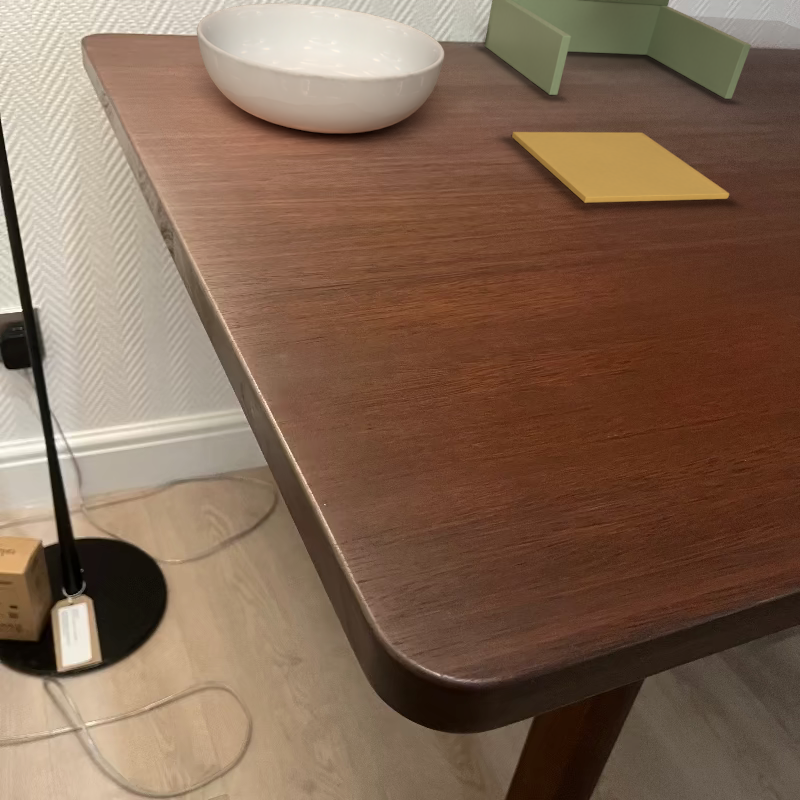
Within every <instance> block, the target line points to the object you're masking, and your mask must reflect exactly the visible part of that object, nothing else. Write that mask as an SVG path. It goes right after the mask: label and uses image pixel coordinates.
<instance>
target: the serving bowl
mask: <svg viewBox="0 0 800 800" xmlns="http://www.w3.org/2000/svg"><path fill="white" fill-rule="evenodd" d="M196 37H197V43H198V48H199V51H200V56H201V60H202V62H203V65H204V67H205V70H206V72H207V74H208V76H209V78H210V79H211V81H212V82H213V84H214V85H215V86H216V87H217V89H218V90H219V91H220V92H221V93H222V94H223V96H224V97H226V98H227V99H228V100H229V101H230V103H233V104H234V105H235V106H237V108H240V109H241V110H242V111H245V112H246V113H248V114H250V115H253V116H254V117H256V118H259V119H261V120H264V121H266V122H268V123H271V124H275V125H279V126H283V127H286V128H291V129H293V130H294V129H295V130H301V131H305V132H309V133H315V134H356V133H357V134H359V133H365V132H366V133H367V132H371V131H377V130H381V129H384V128H387V127H391V126H394V125H395V124H398V123H400V122H402V121H404V120H405V119H407V118H409V117H411V116H412V115H413V114H414V113H416V112H417V111H418V110H419V109H420V108H421V107H422V106H423V105H424V104H425V102H426V101H427V100H428V99H429V98H430V96H431V94H433V91H434V89H435V87H436V85H437V83H438V81H439V77H440V75H441V72H442V69H443V68H442V67H443V64H444V60H445V50H444V48H443V46H442V45H441V43H440V42H439V41H438V40H436V39H435V38H434V37H432V36H431V35H430V34H428V33H426V32H424V31H423V30H420V29H418V28H416V27H414V26H411V25H409V24H406V23H403V22H401V21H397V20H395V19H392V18H387V17H385V16H381V15H380V16H379V15H376V14H371V13H367V12H364V11H358V10H353V9H347V8H340V7H333V6H326V5H317V4H307V3H306V4H305V3H285V2H284V3H283V2H282V3H281V2H280V3H279V2H277V3H275V2H274V3H272V2H271V3H267V2H266V3H253V4H243V5H235V6H231V7H227V8H221V9H219V10H216V11H214V12H211V13H209V14H207V15H205V16H204V17H203V18H202V19H201V20H199V22H198V23H197V26H196Z"/></svg>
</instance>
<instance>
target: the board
mask: <svg viewBox="0 0 800 800" xmlns="http://www.w3.org/2000/svg"><path fill="white" fill-rule="evenodd" d="M511 138H512V139H514V140H515V141H516V142H517V143H518V144H519V145H520V146H521V147H522V148H524V149H525V151H527V152H528V153H529V154H530V155H531V156H533V157H534V158H535V159H536V160H537V161H538V162H539V163H540V164H541V165H542V166H543V167H544V168H546V170H548V171H549V172H550V173H551V174H552V175H553V176H554V177H555V178H557V179H558V180H559V181H560V182H561V184H563V185H564V186H565V187H566V188H567V189H568V190H570V191H571V192H572V193H573V194H574V195H575V196H577V198H579V199H580V200H581V201H582V202H583V203H584V204H587V203H588V204H589V203H627V202H629V203H631V202H662V201H664V202H665V201H698V200H727V199H728V198H729V196H730V193H729V191H727V190H725V189H724V188H722V187H721V186H719V184H716V183H715V182H713V181H712V180H711V179H709V178H708V177H706V176H705V175H704V174H702V173H701V172H699V171H698V170H696V169H695V168H694V167H692V166H690V165H689V164H688V163H686V161H684V160H682V159H681V158H680V157H677V155H675V154H674V153H672V152H670V150H668V149H666V148H665V147H664V146H662V145H661V144H659V143H658V142H656V141H655V140H653V139H652V138H650V136H648V135H646V134H645V133H643V132H623V131H622V132H616V131H615V132H611V131H609V132H607V131H603V132H601V131H599V132H595V131H591V132H587V131H586V132H584V131H513V132H512V137H511Z"/></svg>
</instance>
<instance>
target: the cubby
mask: <svg viewBox="0 0 800 800" xmlns="http://www.w3.org/2000/svg"><path fill="white" fill-rule="evenodd" d="M669 3H670V0H491V5H490V10H489V16H488V22H487V23H488V24H487V27H486V28H487V29H486V32H485V33H486V34H485V38H484V43H483V44H484V47H485V48H486V49H488V50H489V51H490V52H492V53H493V54H494V55H496V56H497V57H498V58H500V60H502V61H504V62H505V63H506V64H508V66H510V67H512V68H513V69H514V70H516V71H517V72H518V73H520V75H522V76H524V77H525V78H527V80H529V81H530V82H532V84H534V85H536V86H537V87H538V88H539V89H541V90H543V92H544V93H546V94H547V95H548V96H558V94H559V89H560V85H561V82H562V76H563V73H564V68H565V65H566V61H567V56H568V52H570V53H591V54H592V53H593V54H594V53H597V54H617V55H619V54H621V55H640V56H641V55H643V56H648V57H650V58H652V59H654V60H655V61H656V62H659V63H660V64H662V65H664V66H666V67H667V68H670V69H671V70H673V71H675V72H676V73H678V74H680V75H682V76H684V77H685V78H687V79H689V80H691V81H692V82H694V83H696V84H698V85H700V87H701V86H702V87H703V88H705V89H706V90H708V91H711V92H712V93H715V94H716V95H717V96H719V97H721V98H723V99H725V100H732V98H733V96H734V93H735V90H736V88H737V85H738V82H739V79H740V77H741V75H742V71H743V69H744V65H745V63H746V60H747V57H748V55H749V53H750V50H751V47H752V44H751V43H748V42H746V41H744V40H742V39H740V38H737V37H735V36H733V35H731V34H729V33H727V32H725V31H722V30H720V29H718V28H716V27H713V26H712V25H709V24H707V23H705V22H703V21H702V20H701V21H700V19H699V20H698V19H696V18H694V17H692V16H690V15H688V14H686V13H683V12H681V11H679V10H677V9H675V8H672V7H670V6H669Z"/></svg>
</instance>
